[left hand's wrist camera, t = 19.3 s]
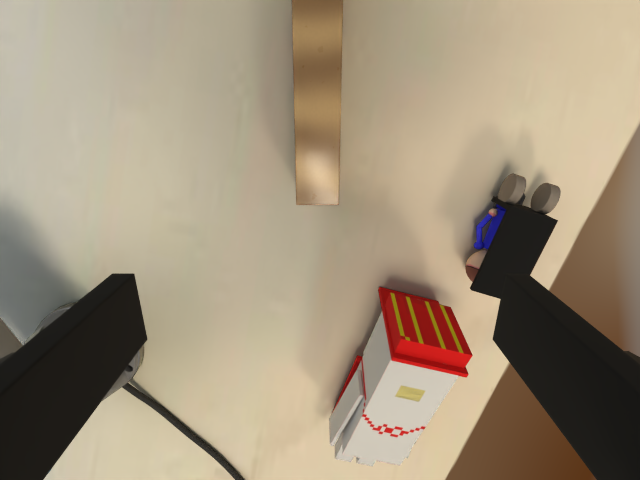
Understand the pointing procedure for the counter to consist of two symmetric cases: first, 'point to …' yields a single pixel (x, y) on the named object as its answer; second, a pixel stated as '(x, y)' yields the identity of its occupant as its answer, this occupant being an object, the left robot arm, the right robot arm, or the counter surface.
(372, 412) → the toy
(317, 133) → the beam
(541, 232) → the figurine character
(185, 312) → the counter surface
